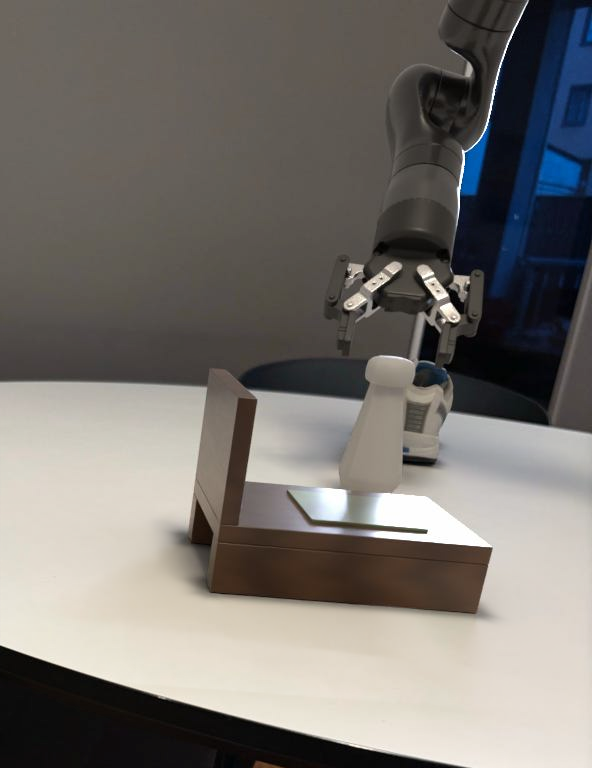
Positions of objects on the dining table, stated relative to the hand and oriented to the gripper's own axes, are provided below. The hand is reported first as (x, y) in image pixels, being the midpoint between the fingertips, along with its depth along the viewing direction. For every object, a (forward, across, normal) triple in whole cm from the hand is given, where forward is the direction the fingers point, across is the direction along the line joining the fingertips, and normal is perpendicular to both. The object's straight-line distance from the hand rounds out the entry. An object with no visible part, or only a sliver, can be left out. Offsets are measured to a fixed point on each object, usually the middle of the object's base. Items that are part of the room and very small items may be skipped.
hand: (392, 357), depth 93 cm
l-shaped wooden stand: (+29, -2, -11) cm, 31 cm away
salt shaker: (+11, 0, +7) cm, 13 cm away
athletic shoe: (-11, +4, +30) cm, 32 cm away
